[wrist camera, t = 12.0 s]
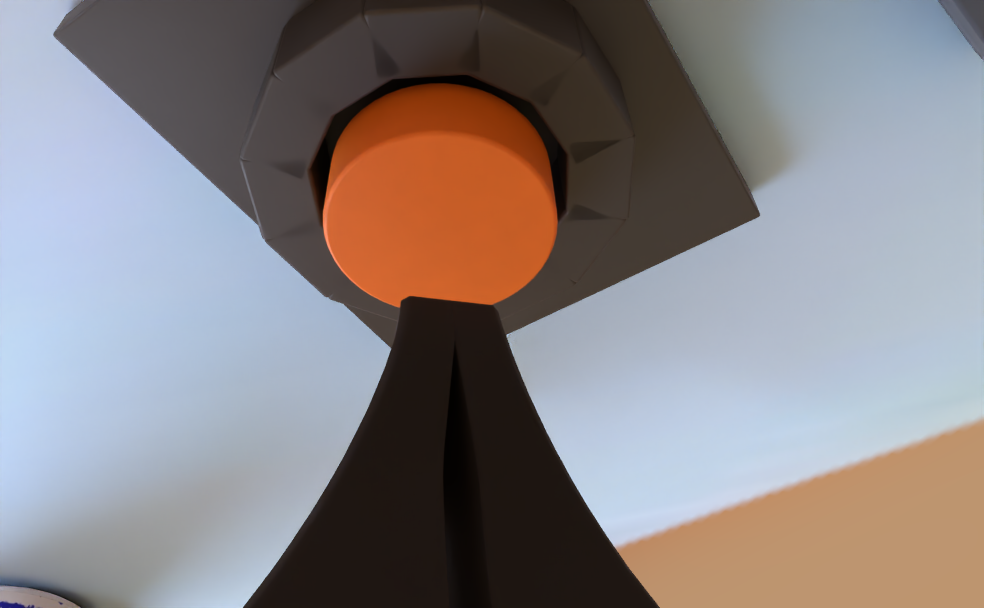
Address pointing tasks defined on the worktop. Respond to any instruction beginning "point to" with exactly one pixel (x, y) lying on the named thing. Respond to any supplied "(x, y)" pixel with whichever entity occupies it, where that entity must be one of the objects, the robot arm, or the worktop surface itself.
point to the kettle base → (421, 60)
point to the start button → (440, 197)
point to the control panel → (968, 20)
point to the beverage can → (31, 598)
